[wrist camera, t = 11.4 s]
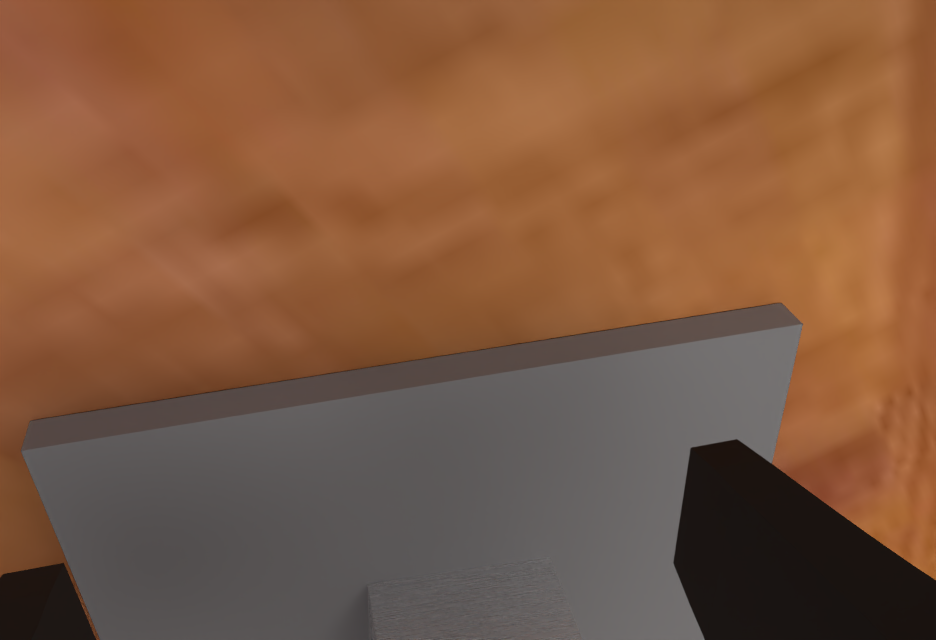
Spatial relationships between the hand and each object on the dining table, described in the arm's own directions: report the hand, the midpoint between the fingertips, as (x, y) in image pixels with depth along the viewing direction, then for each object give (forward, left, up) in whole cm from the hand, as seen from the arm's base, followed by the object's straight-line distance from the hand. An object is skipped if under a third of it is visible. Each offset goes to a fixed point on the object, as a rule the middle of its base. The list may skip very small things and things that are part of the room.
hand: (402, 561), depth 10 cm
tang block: (+2, -13, -9) cm, 16 cm away
